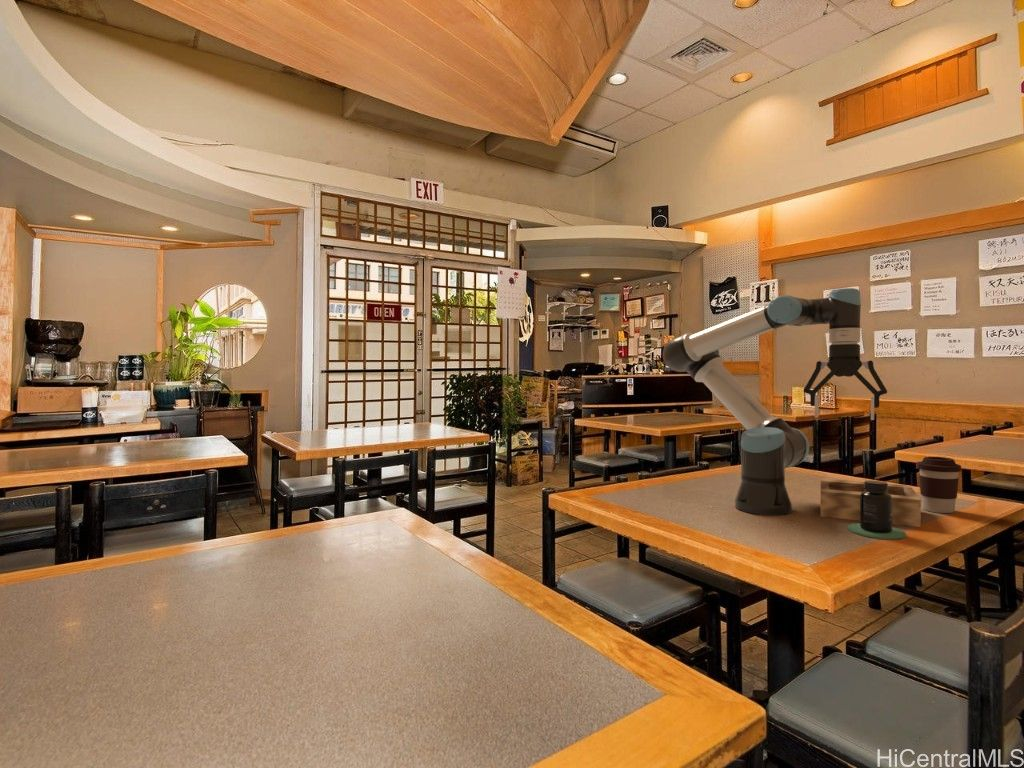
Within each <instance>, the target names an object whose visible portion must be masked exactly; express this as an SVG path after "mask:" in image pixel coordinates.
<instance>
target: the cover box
mask: <svg viewBox="0 0 1024 768" xmlns="http://www.w3.org/2000/svg"><path fill="white" fill-rule="evenodd" d="M887 484H888V491H887V493H888V494H890V495H891V496H892V500H893V525H899V526H907V527H908V526H909V527H915V528H917V527H918V528H921V517H922V516H921V510H922V509H921V507H922V499H921V498H920V497H919V496H918V494H917V492H916V491H915V490H914V488H913V487H912V485H907V484H895V483H887ZM864 486H865V481H855V480H844V479H831V478H820V517H822V518H823V517H824V518H832V519H843V520H851V521H859V522H860V494H861V493H862V492H864V491H866V489H864Z"/></svg>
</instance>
